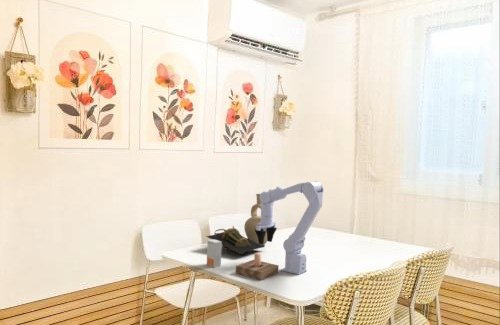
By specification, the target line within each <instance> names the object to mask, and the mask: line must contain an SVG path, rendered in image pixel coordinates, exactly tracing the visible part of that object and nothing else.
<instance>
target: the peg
mask: <svg viewBox="0 0 500 325" xmlns="http://www.w3.org/2000/svg"><path fill="white" fill-rule="evenodd" d="M253 257H254V258H253V260H254V267H258V268H259V267H260V266H261V260H262V253H261V252H255V253H254V256H253Z"/></svg>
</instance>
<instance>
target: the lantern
mask: <svg viewBox="0 0 500 325" xmlns="http://www.w3.org/2000/svg"><path fill="white" fill-rule="evenodd" d="M219 231H221V232H219ZM205 237H206V238H208V239H209V240H213V239H215V240H218V241H221V242H222V248H223V249H226V250H230V251H233V252H235V253H237V254H239V255H242V254H245V253H248V252H250V251H254V250H258V249H261V248H265V245H260V244H258V243H256V242H254V241H252V240H249V239H248V238H247V237H245V236H243V235H242V234H241V233H240V231H239V230H238V229H237V228H235V226H234V225H232V228H228V229H224V228H219V229H216V230H214V234H211V235H207V236H205Z"/></svg>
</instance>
